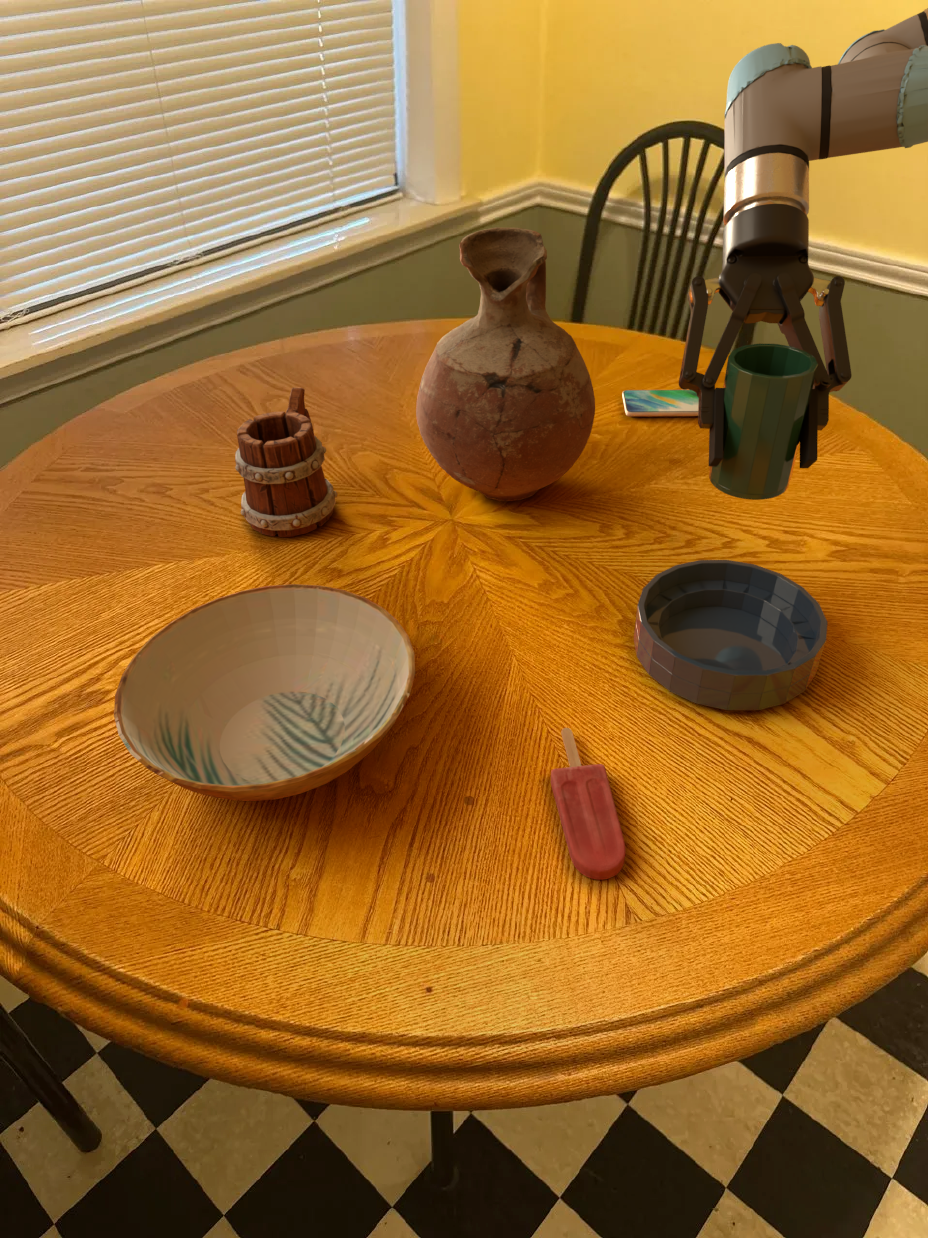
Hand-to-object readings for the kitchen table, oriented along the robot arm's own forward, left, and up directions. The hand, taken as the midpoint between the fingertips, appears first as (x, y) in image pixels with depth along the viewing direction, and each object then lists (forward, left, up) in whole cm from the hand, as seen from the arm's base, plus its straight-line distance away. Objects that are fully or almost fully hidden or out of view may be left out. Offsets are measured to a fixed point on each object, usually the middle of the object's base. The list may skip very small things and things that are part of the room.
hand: (761, 463), depth 78 cm
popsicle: (+24, +18, -18) cm, 35 cm away
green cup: (-1, -3, -4) cm, 5 cm away
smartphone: (-16, -45, -18) cm, 51 cm away
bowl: (+47, +3, -18) cm, 50 cm away
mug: (+41, -36, -18) cm, 57 cm away
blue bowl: (+4, +5, -18) cm, 19 cm away
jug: (+14, -33, -18) cm, 40 cm away
